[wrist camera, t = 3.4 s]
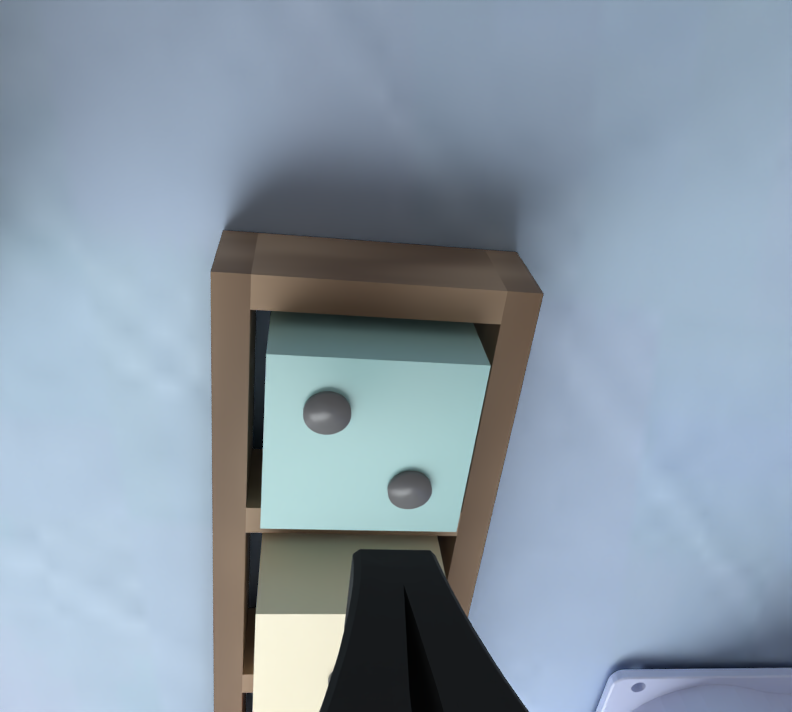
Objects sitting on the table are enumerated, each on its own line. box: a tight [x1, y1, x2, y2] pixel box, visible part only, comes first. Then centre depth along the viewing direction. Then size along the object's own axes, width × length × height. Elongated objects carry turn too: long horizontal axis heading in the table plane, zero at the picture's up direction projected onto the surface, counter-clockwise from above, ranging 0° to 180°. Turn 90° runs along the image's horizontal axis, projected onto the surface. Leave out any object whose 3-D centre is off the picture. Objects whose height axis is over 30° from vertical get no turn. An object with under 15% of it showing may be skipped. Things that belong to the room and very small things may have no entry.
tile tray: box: [211, 230, 543, 712], centre depth 21 cm, size 7×19×2 cm, turn 173°
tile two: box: [260, 311, 491, 532], centre depth 17 cm, size 5×5×3 cm
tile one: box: [252, 533, 446, 712], centre depth 19 cm, size 5×5×3 cm
